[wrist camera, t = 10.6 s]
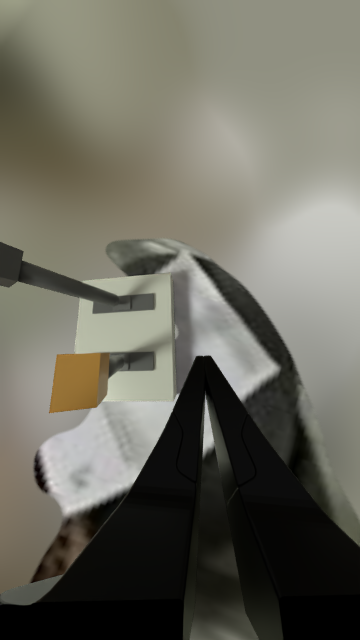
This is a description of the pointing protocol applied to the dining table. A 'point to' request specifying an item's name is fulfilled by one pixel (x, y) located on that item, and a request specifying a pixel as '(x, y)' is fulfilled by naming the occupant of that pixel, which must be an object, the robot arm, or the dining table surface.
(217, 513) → the dining table surface
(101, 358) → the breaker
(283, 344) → the dining table surface
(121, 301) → the breaker panel
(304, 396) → the dining table surface
